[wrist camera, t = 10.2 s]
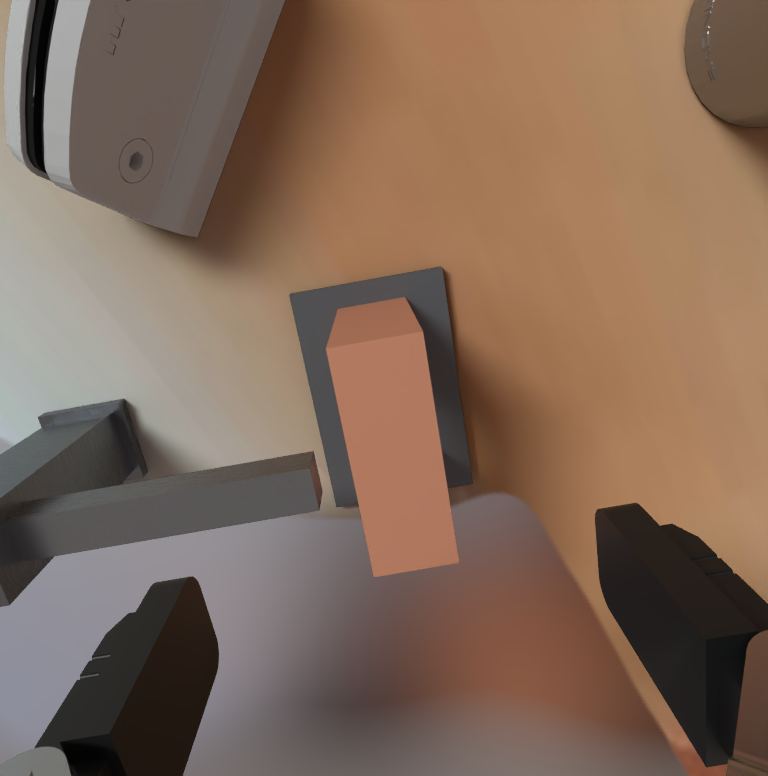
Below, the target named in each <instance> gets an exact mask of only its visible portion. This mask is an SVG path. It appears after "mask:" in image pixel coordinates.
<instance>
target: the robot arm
mask: <svg viewBox="0 0 768 776" xmlns="http://www.w3.org/2000/svg"><path fill="white" fill-rule="evenodd" d="M684 50H685V60H686V69H687V72H688V75H689V78H690V81H691V84H692V87H693V89H694V90H695V92H696V94H697V95H698V97H699V99H700V100H701V102H702V103H703V104H704V105H705V106H706V107H707V108H708V109H709V110H710V111H711V112H712V113H713V114H714V115H716V116H718V117H719V118H721V119H723V120H725V121H726V122H728V123H732V124H735V125H739V126H742V127H765V126H768V0H695V1H694V3H693V5H692V7H691V11H690V15H689V19H688V23H687V26H686V35H685V47H684ZM595 526H596V540H597V554H598V568H599V579H600V585H601V589H602V592H603V596H604V599H605V601H606V604H607V606H608V608H609V610H610V612H611V613H612V615H613V616H614V618H615V620H616V621H617V623H618V625H619V626H620V628H621V629H622V631H623V633H624V634H625V636H626V638H627V639H628V641H629V642H630V644H631V646H632V647H633V649H634V651H635V652H636V654H637V655H638V657H639V659H640V660H641V662H642V664H643V665H644V667H645V668H646V670H647V672H648V673H649V675H650V677H651V678H652V680H653V681H654V683H655V685H656V686H657V688H658V690H659V691H660V693H661V694H662V696H663V698H664V699H665V701H666V703H667V704H668V706H669V707H670V709H671V711H672V712H673V714H674V716H675V717H676V719H677V720H678V722H679V724H680V725H681V727H682V729H683V730H684V732H685V733H686V735H687V737H688V738H689V740H690V742H691V743H692V745H693V746H694V748H695V750H696V751H697V753H698V755H699V756H700V758H701V759H702V761H703V763H704V764H705V766H706V767H711V766H717V765H723V764H727V770H726V776H768V604H767V603H766V602H765V601H764V600H763V599H762V598H761V597H760V596H759V595H758V594H757V593H756V592H755V591H754V590H753V589H752V588H751V587H750V586H749V585H748V584H747V583H746V582H745V581H744V580H742V579H741V578H740V577H739V576H738V575H737V574H734V573H733V571H732V569H731V568H730V567H729V566H728V565H727V564H726V563H725V562H724V561H723V560H722V559H721V558H719V559H718V557H717V554H716V553H715V552H713V551H712V550H711V549H710V548H709V547H708V546H707V545H706V544H705V543H704V542H703V541H702V540H701V539H700V538H699V537H698V536H695V535H693V534H691V533H689V532H687V531H685V530H683V529H681V528H679V527H677V526H675V525H673V524H668V525H662V526H659V525H658V523H657V522H656V521H655V520H654V519H653V518H652V517H651V516H650V515H649V514H648V513H647V512H646V511H645V510H644V509H643V508H642V507H641V506H640V505H639V504H637V503H632V504H626V505H620V506H614V507H608V508H602V509H598V510H597V511H596V514H595ZM218 662H219V649H218V642H217V638H216V635H215V631H214V628H213V625H212V622H211V619H210V616H209V613H208V610H207V606H206V603H205V600H204V597H203V594H202V591H201V588H200V585H199V583H198V581H197V580H196V579H195V578H194V577H186V578H180V579H174V580H168V581H162V582H156V583H154V584H153V585H152V586H151V587H150V589H149V590H148V592H147V594H146V595H145V597H144V599H143V601H142V602H141V604H140V606H139V608H138V609H137V611H136V612H134V613H129V614H127V615H126V616H125V617H124V618H123V619H122V620H121V621H120V622H119V623H118V624H116V625H115V626H114V627H113V628H112V629H111V630H110V631H109V632H108V633H107V634H106V635H105V637H104V638H103V640H102V641H101V643H100V644H99V646H98V648H97V649H96V651H95V652H94V654H93V656H92V661H89V662H88V664H87V665H86V667H85V668H84V670H83V671H82V673H81V675H80V680H77V681H76V683H75V684H74V686H73V688H72V689H71V691H70V692H69V694H68V695H67V697H66V698H65V700H64V702H63V703H62V705H61V706H60V708H59V710H58V711H57V713H56V714H55V716H54V718H53V719H52V721H51V722H50V724H49V725H48V727H47V729H46V730H45V732H44V733H43V735H42V737H41V738H40V740H39V741H38V743H37V745H36V746H35V748H34V749H31V750H28V751H25V752H23V753H20V754H18V755H16V756H14V757H12V758H10V759H8V760H7V761H5V762H4V763H2V764H1V765H0V776H183V773H184V770H185V767H186V764H187V761H188V758H189V755H190V752H191V749H192V746H193V743H194V740H195V737H196V734H197V731H198V728H199V725H200V722H201V719H202V716H203V713H204V710H205V707H206V704H207V701H208V698H209V695H210V692H211V689H212V686H213V683H214V680H215V676H216V674H217V669H218Z"/></svg>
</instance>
